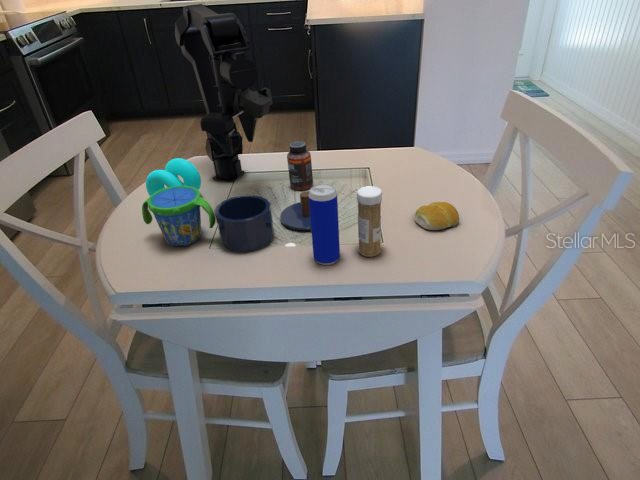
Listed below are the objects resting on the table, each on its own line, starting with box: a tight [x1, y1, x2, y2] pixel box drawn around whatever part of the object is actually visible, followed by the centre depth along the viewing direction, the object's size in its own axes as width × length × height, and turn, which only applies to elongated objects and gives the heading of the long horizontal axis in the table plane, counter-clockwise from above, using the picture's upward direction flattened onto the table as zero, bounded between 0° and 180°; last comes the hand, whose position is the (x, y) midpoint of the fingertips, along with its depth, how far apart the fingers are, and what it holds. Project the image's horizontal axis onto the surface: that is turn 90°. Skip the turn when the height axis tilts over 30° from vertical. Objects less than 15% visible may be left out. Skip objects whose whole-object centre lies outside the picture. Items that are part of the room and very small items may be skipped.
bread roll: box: [414, 201, 460, 231], centre depth 98 cm, size 8×9×4 cm
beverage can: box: [308, 183, 341, 266], centre depth 86 cm, size 5×5×15 cm
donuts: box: [145, 157, 202, 197], centre depth 112 cm, size 10×10×10 cm
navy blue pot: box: [214, 194, 275, 254], centre depth 96 cm, size 11×11×7 cm
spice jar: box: [356, 185, 383, 258], centre depth 87 cm, size 5×5×14 cm
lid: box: [279, 191, 311, 231], centre depth 102 cm, size 12×12×6 cm
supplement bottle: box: [286, 140, 314, 191], centre depth 114 cm, size 6×6×11 cm
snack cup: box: [141, 186, 216, 247], centre depth 97 cm, size 16×10×10 cm
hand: (240, 148), depth 106 cm, fingers open, 9 cm apart
